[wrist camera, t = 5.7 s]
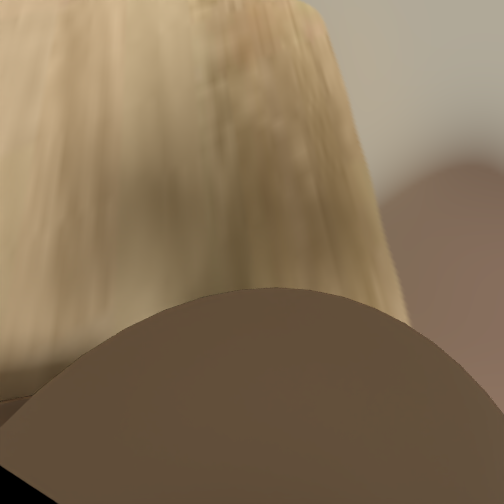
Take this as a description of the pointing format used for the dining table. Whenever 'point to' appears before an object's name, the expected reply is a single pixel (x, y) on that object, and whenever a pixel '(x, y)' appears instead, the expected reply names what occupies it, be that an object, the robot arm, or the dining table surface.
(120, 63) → the dining table surface
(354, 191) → the dining table surface
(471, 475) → the cup
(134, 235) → the dining table surface
